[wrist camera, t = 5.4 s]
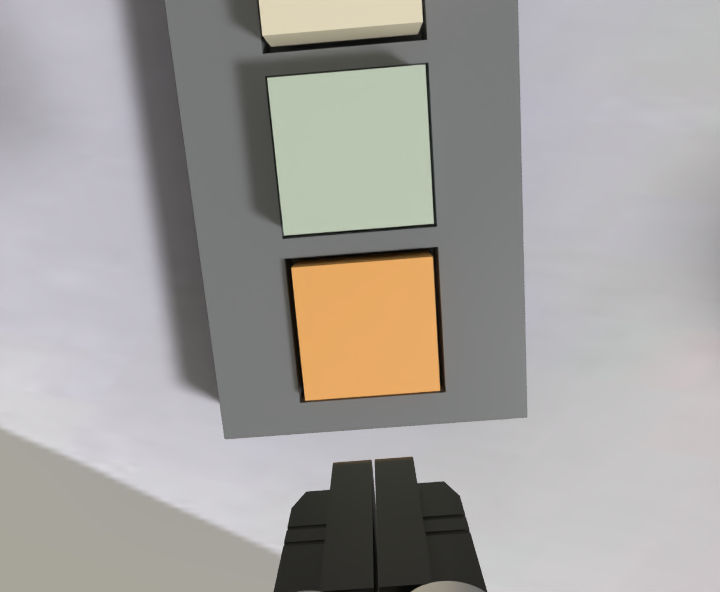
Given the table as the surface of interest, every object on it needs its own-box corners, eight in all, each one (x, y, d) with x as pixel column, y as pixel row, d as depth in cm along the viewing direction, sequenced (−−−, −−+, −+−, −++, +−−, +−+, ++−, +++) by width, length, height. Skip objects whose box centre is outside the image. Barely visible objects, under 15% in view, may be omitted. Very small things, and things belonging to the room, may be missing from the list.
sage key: (275, 85, 23) (266, 77, 21) (419, 73, 23) (425, 64, 21) (290, 229, 24) (284, 235, 22) (428, 218, 24) (433, 223, 22)
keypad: (168, -127, 24) (141, -168, 21) (494, -157, 24) (513, -203, 21) (238, 411, 29) (224, 439, 26) (510, 391, 29) (527, 417, 26)
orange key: (296, 259, 26) (291, 267, 24) (427, 249, 26) (432, 256, 24) (309, 383, 27) (305, 400, 25) (434, 374, 27) (440, 390, 25)
